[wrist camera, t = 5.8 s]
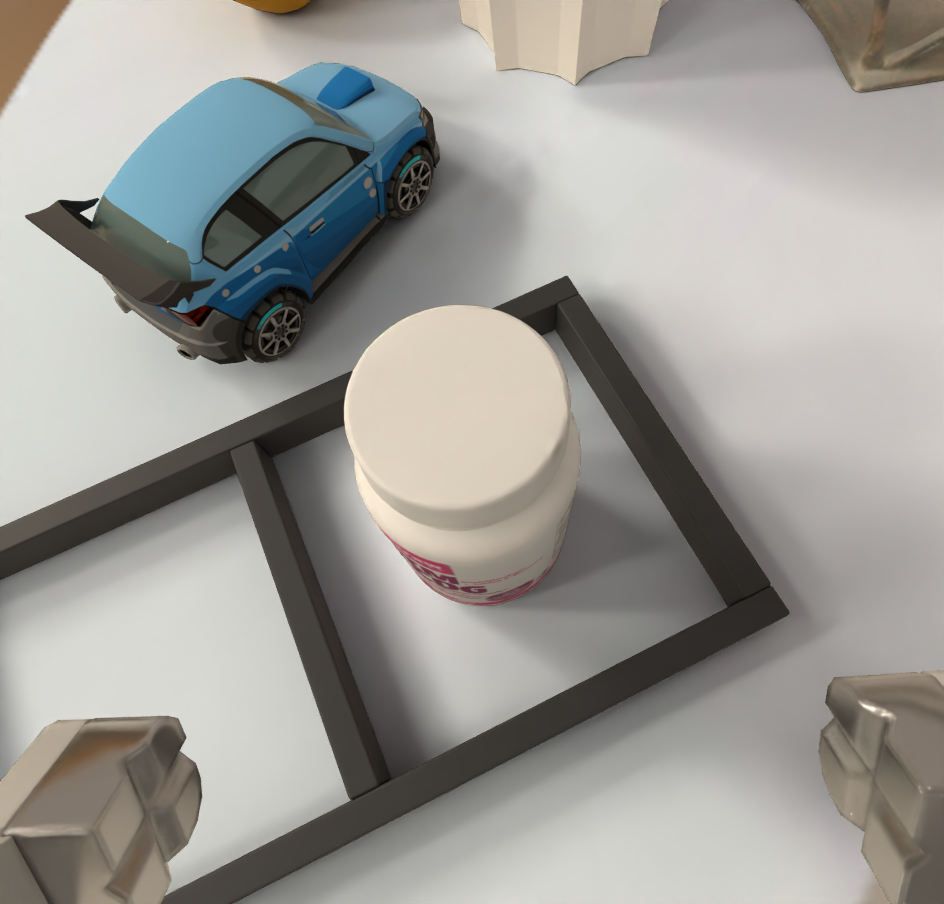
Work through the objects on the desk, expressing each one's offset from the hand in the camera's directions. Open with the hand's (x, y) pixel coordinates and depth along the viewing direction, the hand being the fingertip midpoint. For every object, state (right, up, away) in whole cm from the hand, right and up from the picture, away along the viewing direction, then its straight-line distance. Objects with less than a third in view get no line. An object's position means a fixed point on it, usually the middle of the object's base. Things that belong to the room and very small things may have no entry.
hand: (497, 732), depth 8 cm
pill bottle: (0, +1, +11) cm, 11 cm away
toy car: (-7, +11, +15) cm, 20 cm away
